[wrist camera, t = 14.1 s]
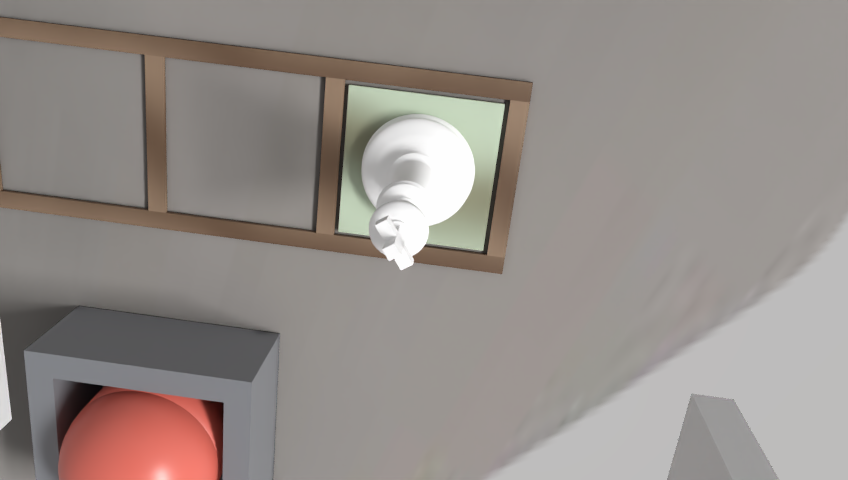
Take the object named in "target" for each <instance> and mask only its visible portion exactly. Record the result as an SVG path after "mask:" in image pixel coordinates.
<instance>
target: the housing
mask: <svg viewBox="0 0 848 480" xmlns="http://www.w3.org/2000/svg"><path fill="white" fill-rule="evenodd" d="M279 343H280V334H279V333H272V332H264V331H257V330H250V329H243V328H235V327H228V326H221V325H214V324H206V323H199V322H192V321H185V320H177V319H170V318H163V317H155V316H148V315H141V314H134V313H126V312H119V311H112V310H105V309H97V308H90V307H83V306H78V307H77V308H76V309H74V310H73V311H72V312H71V313H69V314H68V315H67V316H66V317H64V318H63V319H62V320H61V321H59V322H58V323H57V324H56V325H55V326H53V327H52V328H51V329H50V330H48V331H47V332H46V333H45V334H43V335H42V336H41V337H40V338H38V339H37V340H36V341H35V342H34V343H32V344H31V345H30V346H29V347H27V348H26V349H25V350H24V359H25V370H26V380H27V391H28V401H29V412H30V423H31V433H32V444H33V455H34V465H35V476H36V480H59V475H58V461H59V454H60V449H61V446H62V443H63V440H64V437H65V435H66V433H67V431H68V429H69V427H70V425H71V423H72V422H73V420H74V419H75V418H76V417H77V415H78V414H79V413H80V411H81V410H82V409H83V408H84V407H85V406H86V405H87V404H88V403H89V402H90V400H91V399H92V398H93V397H94V396H95V395H96V394H97V393H98V392H99V391H100V390H101V389H102V388H103V386H110V387H117V388H124V389H131V390H138V391H145V392H152V393H159V394H166V395H173V396H180V397H187V398H195V399H202V400H209V401H216V402H223V403H224V418H223V473H222V475H221V477H220V479H219V480H273V474H274V452H275V430H276V408H277V386H278V365H279Z"/></svg>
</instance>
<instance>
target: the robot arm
mask: <svg viewBox="0 0 848 480" xmlns="http://www.w3.org/2000/svg"><path fill="white" fill-rule="evenodd" d="M11 420H12V417H11V408H10V399H9V391H8V382H7V373H6V365H5V356H4V347H3V339H2V330H1V321H0V430H1V429H2V428H3V427H4V426H5V425H6V424H7V423H8V422H10V421H11ZM667 480H779V479H778V477H777V475H776V473H775V472H774V470H773V468H772V466H771V465H770V463H769V461H768V460H767V458H766V456H765V454H764V452H763V451H762V449H761V447H760V445H759V443H758V442H757V440H756V438H755V436H754V435H753V433H752V431H751V429H750V428H749V426H748V424H747V422H746V421H745V419H744V417H743V415H742V413H741V412H740V410H739V408H738V406H737V405H736V403H735V401H734V400H733V399H726V398H719V397H712V396H704V395H697V394H691V398H690V401H689V404H688V408H687V411H686V415H685V418H684V422H683V426H682V429H681V432H680V436H679V440H678V443H677V446H676V450H675V454H674V457H673V461H672V464H671V468H670V471H669V475H668V478H667Z"/></svg>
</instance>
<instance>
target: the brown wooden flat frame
mask: <svg viewBox="0 0 848 480" xmlns="http://www.w3.org/2000/svg"><path fill="white" fill-rule="evenodd" d="M0 37H6V38H15V39H23V40H31V41H39V42H47V43H55V44H63V45H71V46H79V47H87V48H95V49H103V50H111V51H119V52H127V53H135V54H143V55H145V93H146V134H147V176H148V209H144V208H137V207H129V206H122V205H114V204H106V203H99V202H91V201H84V200H76V199H69V198H61V197H53V196H46V195H38V194H31V193H23V192H16V191H8V190H3V186H2V176H1V166H0V207H2V208H10V209H17V210H25V211H32V212H40V213H47V214H55V215H62V216H70V217H77V218H85V219H93V220H100V221H108V222H115V223H123V224H130V225H138V226H145V227H153V228H160V229H168V230H175V231H183V232H190V233H198V234H205V235H213V236H220V237H228V238H235V239H243V240H250V241H258V242H265V243H273V244H280V245H288V246H295V247H303V248H310V249H318V250H325V251H333V252H340V253H348V254H355V255H363V256H370V257H378V258H386V259H387V257H386V255H384V254H383V253H381V252H380V251H379V250H377V248H376V247H375V246H374V245H373V243H372V241H371V239H370V238H364V237H356V236H348V235H341V234H334V232H335V218H336V204H337V190H338V176H339V163H340V149H341V135H342V121H343V107H344V93H345V80H353V81H361V82H369V83H377V84H385V85H393V86H401V87H409V88H417V89H425V90H433V91H441V92H449V93H457V94H465V95H473V96H481V97H490V98H498V99H506V100H510V105H509V112H508V118H507V125H506V131H505V138H504V145H503V151H502V158H501V164H500V171H499V178H498V184H497V191H496V197H495V204H494V211H493V217H492V224H491V230H490V237H489V244H488V250H487V254H485V253H477V252H470V251H462V250H454V249H447V248H439V247H432V246H424V247H423V248H422V249H421V250H420V251H419V252H418V253H416V254H415V255H413V256H412V257H413V259H414V262H416V263H423V264H431V265H438V266H446V267H453V268H461V269H468V270H476V271H483V272H491V273H498V274H502V271H503V265H504V259H505V252H506V246H507V240H508V234H509V228H510V221H511V215H512V209H513V203H514V197H515V190H516V184H517V178H518V172H519V166H520V159H521V153H522V147H523V141H524V135H525V128H526V122H527V116H528V110H529V104H530V97H531V91H532V85H533V82H525V81H517V80H508V79H500V78H492V77H484V76H476V75H468V74H460V73H452V72H443V71H435V70H427V69H419V68H411V67H403V66H395V65H387V64H379V63H370V62H362V61H354V60H346V59H338V58H330V57H322V56H314V55H305V54H297V53H289V52H281V51H273V50H265V49H257V48H249V47H241V46H232V45H224V44H216V43H208V42H200V41H192V40H184V39H176V38H167V37H159V36H151V35H143V34H135V33H127V32H119V31H111V30H103V29H94V28H86V27H78V26H70V25H62V24H54V23H46V22H38V21H29V20H21V19H13V18H5V17H0ZM165 57H168V58H176V59H184V60H192V61H200V62H208V63H216V64H224V65H232V66H240V67H248V68H256V69H264V70H272V71H280V72H288V73H296V74H304V75H312V76H320V77H326V83H325V99H324V115H323V131H322V147H321V163H320V179H319V195H318V211H317V227H316V231H311V230H303V229H296V228H288V227H280V226H273V225H265V224H258V223H250V222H243V221H235V220H227V219H220V218H212V217H205V216H197V215H190V214H182V213H174V212H167V162H166V93H165ZM504 108H505V103H497V102H489V101H481V100H473V99H465V98H457V97H449V96H441V95H432V94H424V93H416V92H408V91H400V90H392V89H384V88H376V87H368V86H360V85H352V84H349V91H348V105H347V119H346V132H345V146H344V159H343V173H342V187H341V200H340V214H339V227H338V232H345V233H353V234H360V235H368V236H369V222H370V219H371V217H372V215H373V213H374V212H375V211H376V208H375V207H374V205H373V204H372V203H371V201H370V200H369V198H368V196H367V194H366V192H365V189H364V186H363V182H362V175H361V168H362V158H363V154H364V150H365V148H366V146H367V143H368V142H369V140H370V138H371V137H372V136H373V134H374V133H375V132H376V131H377V130H378V129H379V128H380V127H381V126H382V125H384V124H385V123H387V122H388V121H390V120H392V119H394V118H397V117H400V116H403V115H409V114H426V115H431V116H434V117H437V118H440V119H442V120H444V121H446V122H448V123H449V124H451V125H452V126H453V127H455V128H456V129H457V130H458V131H459V132H460V133H461V134H462V136H463V137H464V138H465V140H466V141H467V143H468V145H469V147H470V149H471V152H472V155H473V158H474V164H475V177H474V183H473V186H472V189H471V192H470V194H469V196H468V198H467V199H466V201H465V202H464V204H463V205H462V206H461V208H460V209H459V210H458V211H457V212H456V213H455V214H454V215H452V216H451V217H449V218H448V219H446V220H444V221H442V222H440V223H438V224H435V225H431V226H429V235H428V239H427V242H426V243H429V244H436V245H444V246H451V247H459V248H467V249H474V250H482V251H483V248H484V242H485V235H486V228H487V222H488V215H489V208H490V202H491V195H492V188H493V181H494V175H495V168H496V161H497V155H498V148H499V141H500V135H501V128H502V121H503V115H504ZM393 260H395V259H393Z"/></svg>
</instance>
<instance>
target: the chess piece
mask: <svg viewBox="0 0 848 480" xmlns="http://www.w3.org/2000/svg"><path fill="white" fill-rule="evenodd" d="M361 175H362V182H363V186H364V189H365V192H366V194H367V196H368V198H369V200H370V201H371V203H372V204H373V205H374V207H375V208H376V211H375V212H374V213H373V215H372V217H371V219H370V222H369V236H370V239H371V241H372V243H373V245H374V246H375V247H376V248H377V250H379V251H380V252H381V253H383V254H384V255H386V257H387V259H388V260H389V261H391V260H393V259H395V261H396V263H397V264H398V266H399V268H400V270H403V269H405V268H407V267H409V266H411V265H413V262H414V259H413V257H412V256H413V255H415V254H416V253H418V252H419V251H420V250H421V249H422V248H423V247H424V245H425V244H426V242H427V239H428V235H429V226H431V225H435V224H438V223H440V222H442V221H444V220H446V219H448V218H449V217H451V216H452V215H454V214H455V213H456V212H457V211H458V210H459V209H460V208H461V206H462V205H463V204H464V202H465V201H466V199H467V198H468V196H469V194H470V192H471V189H472V186H473V183H474V177H475V164H474V158H473V155H472V152H471V149H470V147H469V145H468V143H467V141H466V140H465V138H464V137H463V136H462V134H461V133H460V132H459V131H458V130H457V129H456V128H455V127H453V126H452V125H451V124H449V123H448V122H446V121H444V120H442V119H440V118H437V117H434V116H431V115H426V114H409V115H403V116H400V117H397V118H394V119H392V120H390V121H388V122H387V123H385V124H384V125H382V126H381V127H380V128H379V129H378V130H377V131H376V132H375V133H374V134H373V136H372V137H371V138H370V140H369V142H368V143H367V146H366V148H365V150H364V154H363V158H362V168H361Z"/></svg>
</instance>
